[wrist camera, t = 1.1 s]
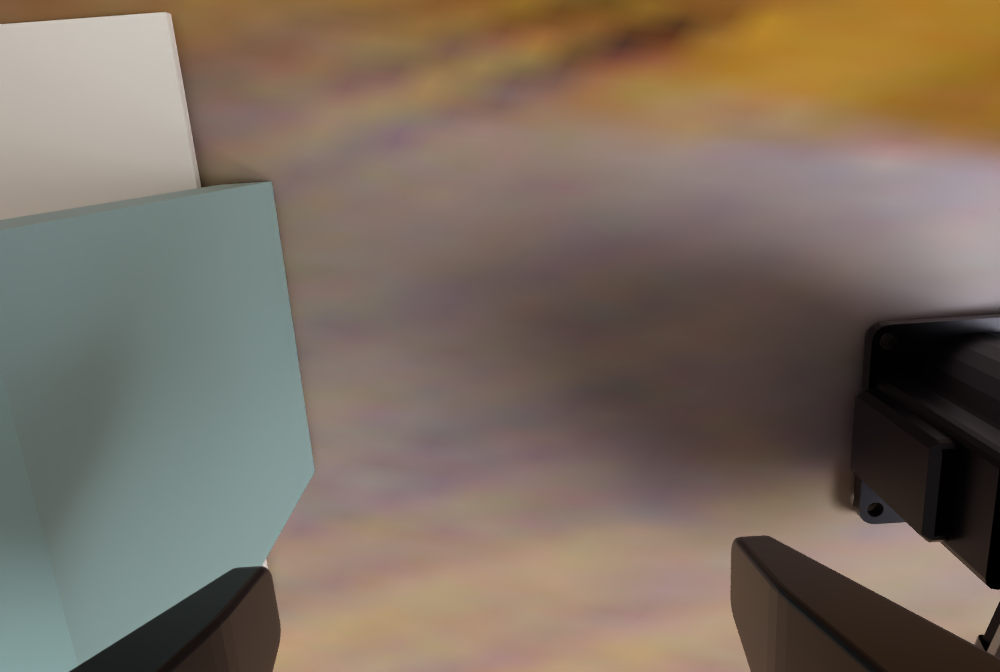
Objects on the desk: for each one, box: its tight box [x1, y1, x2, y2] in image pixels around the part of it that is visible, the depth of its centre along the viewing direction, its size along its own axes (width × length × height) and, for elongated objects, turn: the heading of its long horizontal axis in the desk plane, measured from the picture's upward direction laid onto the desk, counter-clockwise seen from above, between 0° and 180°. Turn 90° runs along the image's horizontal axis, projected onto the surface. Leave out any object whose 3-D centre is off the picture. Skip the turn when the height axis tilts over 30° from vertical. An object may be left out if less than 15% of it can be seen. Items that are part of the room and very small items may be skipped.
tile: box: [0, 181, 315, 672], centre depth 16 cm, size 2×9×12 cm, turn 4°
